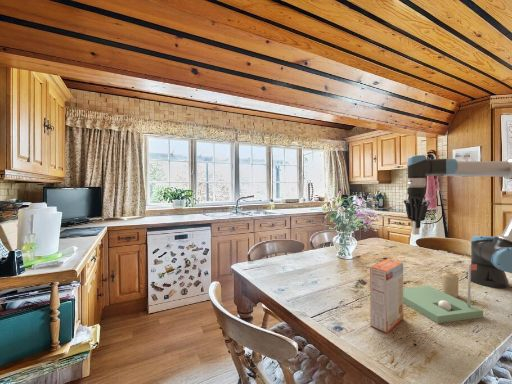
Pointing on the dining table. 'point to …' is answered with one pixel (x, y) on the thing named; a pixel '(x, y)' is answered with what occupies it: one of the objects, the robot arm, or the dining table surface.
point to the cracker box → (386, 294)
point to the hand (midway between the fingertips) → (415, 234)
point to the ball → (444, 305)
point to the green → (428, 299)
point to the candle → (450, 284)
